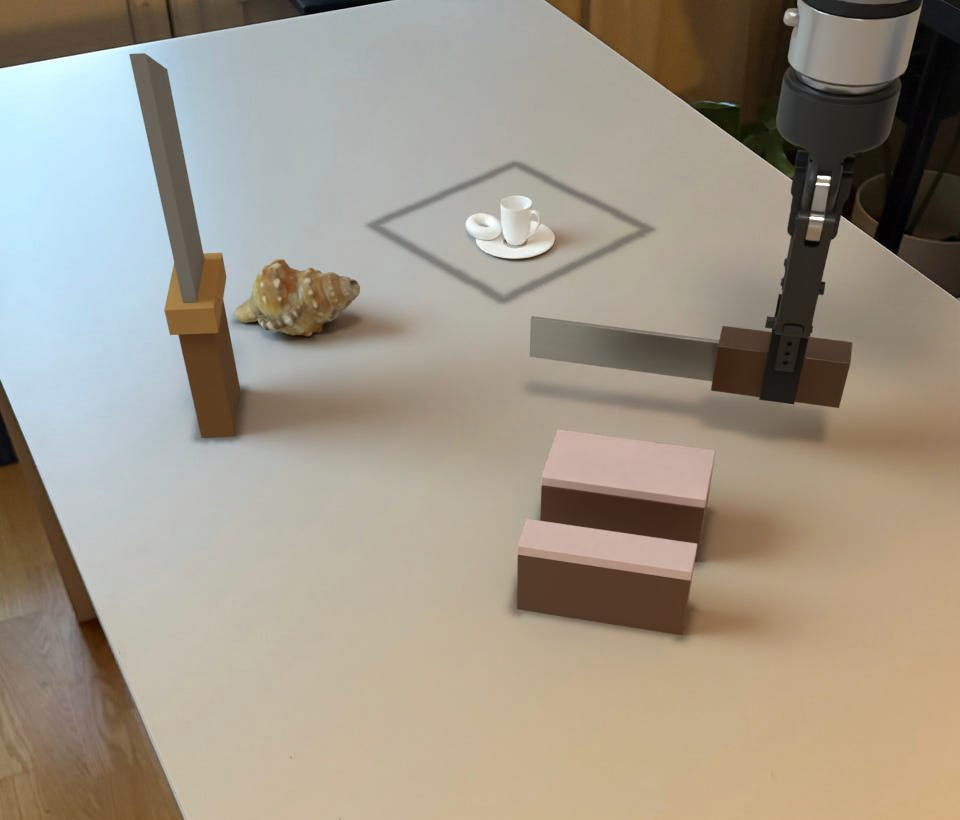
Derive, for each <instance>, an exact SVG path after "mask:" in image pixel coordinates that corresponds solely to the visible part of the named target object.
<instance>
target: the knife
mask: <svg viewBox="0 0 960 820" xmlns="http://www.w3.org/2000/svg"><path fill="white" fill-rule="evenodd" d="M128 56H129V59H130V63H131V69H132V73H133V78H134V82H135V87H136V93H137V97H138V103H139V106H140V112H141V115H142V120H143V125H144V128H145V134H146V139H147V142H148V148H149V153H150V157H151V161H152V167H153V171H154V175H155V179H156V180H155V181H156V185H157V190H158V193H159V198H160V203H161V209H162V212H163V217H164V222H165V226H166V230H167V236H168V239H169V244H170V250H171V254H172V258H173V266H172V270H171V276H170V281H169V286H168V290H167V295H166V300H165V305H164V315H165V319H166V324H167V326H168V328H167V329H168V333H169V335H170V336H178V340H179V344H180V348H181V353H182V358H183V361H184V366H185V371H186V376H187V379H188V384H189V388H190V389H189V390H190V392H191V398H192V402H193V406H194V411H195V415H196V420H197V424H198V429H199V433H200V438H201V439H210V438H212V439H213V438H232V437H234V438H235V437H236V431H237V422H238V413H239V405H240V397H241V385H240V381H239V374H238V370H237V365H236V359H235V354H234V353H235V352H234V348H233V344H232V339H231V333H230V327H229V322H228V318H227V312H226V307H225V301H224V297H225V291H226V283H227V271H226V266H225V262H224V255H223V252H207V253H205V252H204V250H203V249H204V248H203V245H202V240H201V239H202V238H201V234H200V230H199V229H200V228H199V225H198V224H199V223H198V218H197V214H196V209H195V204H194V199H193V194H192V190H191V183H190V178H189V174H188V173H189V172H188V168H187V164H186V157H185V153H184V147H183V143H182V138H181V132H180V126H179V123H178V122H179V121H178V117H177V113H176V107H175V106H176V105H175V102H174V97H173V91H172V87H171V81H170V76H169V72H168V68H166V67H165V66H164V65H163V64H161V63H160V62H158V61H157V60H155V59H154V58H152V57H151V56H149V55H148V54H147V53H145V52H141V53H139V52H138V53H129V54H128Z"/></svg>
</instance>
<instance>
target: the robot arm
mask: <svg viewBox="0 0 960 820" xmlns="http://www.w3.org/2000/svg"><path fill="white" fill-rule="evenodd" d="M923 2H924V0H797V2H796V3H797V7H794V8H793V7H791V8H787V10H786V11H785V12H784V15H783V23H784V25H786V26H789V27H793V29H792V32H791V36H790V41H789V48H788V54H787V60H788V63H789V64H790V65H789V67H788V68H787V69H786V70H785V71H784V73H783V77H782V83H781V89H780V93H779V94H780V95H779V100H778V106H777V112H776V117H775V118H776V119H775V126H776V129H777V131H778V133H779V134H780V135H781V137H782V138H783V139H784V140H786V142H788V143H790V144H791V145H793V146H795V147H800V148H802V149H804V150H802V149H797V152H796V157H795V163H794V167H793V173H792V181H791V186H790V194H791V196H792V198H791V202H790V212H789V217H788V222H787V229H786V231H787V234H788V235H789V236H790V240H789V245H788V251H787V255H786V257H785V258H784V261H783V267H784V274H783V277H782V278H781V279H780V287H781V293H778V296H777V302H776V306H775V311H774V316H770V315H767V316H766V320H765V325H764V329H771V332H772V335H771V341H770V346H769V351H768V356H767V361H766V366H765V372H764V377H763V382H762V387H761V392H760V397H758V400H759V401H765V402H773V403H780V404H789V405H795V403H796V402H795V398H796V393H797V389H798V384H799V380H800V375H801V371H802V366H803V362H804V357H805V352H806V348H807V343H808V339H809V337H811V335H812V334H813V329H814V326H813V324H814V317H815V313H816V312H815V311H816V308H817V302H818V300H819V296H824V294H825V289H826V281H823V277H824V273H825V268H826V264H827V259H828V255H829V251H830V246H831V242H832V240H835V238H837V235H838V231H839V227H840V222H841V217H842V212H843V208H844V204H845V202H846V201H847V200H848V199H849V197H850V194H851V189H852V186H853V185H852V184H853V180H854V174H855V172H854V171H853V170H854V166H855V162H856V161H855V160H856V155H855V154H858V153H866V152H870V151H872V150H874V149H876V148H878V147H880V146H881V145H883V144H884V143H885V141H886V140H887V139H888V138H889V136H890V135H891V131H892V127H893V124H894V123H893V122H894V119H895V114H896V110H897V106H898V102H899V98H900V94H901V89H902V81H901V79H900V76H901V75H904V74H905V73H906V70H907V68H908V65H909V61H910V57H911V52H912V49H913V44H914V40H915V37H916V36H915V35H916V31H917V28H918V24H919V21H920V20H919V19H920V15H921V11H922V7H923Z"/></svg>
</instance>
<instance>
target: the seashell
mask: <svg viewBox="0 0 960 820" xmlns="http://www.w3.org/2000/svg"><path fill="white" fill-rule="evenodd" d="M360 294H361V285H360V284H359V282H358V281H357V280H356V279H354V278H351V277H350V276H345V275H341V276H340V275H339V274H337V273H336V272H332V271H329V272H324V273H323V272H322V271H321V270H319V269H314V267H308V268H306V269H304V270H298V269H295V268H292V267H290V265H289V264H288V263H287V262H286V260H285V259H284V258H276V259H275V260H273V261H272V262H271V263H270V264H268V265H264V266H263V267H262V268H261V270H260V272H259V273H258V274H257V275H256V276H255V278H254V281H253V284H252V286H251V294H250V297H249V298H248V299H247V300H245V301H244V302H243V303H242V304H241V305H239V306H238V307H236V308H235V311H234V315H235V319H236V320H237V321H239V322H241V323H245V324H246V323H252V322H253V323H254V322H258V324H259V326H260V327H261V328H262V329H263V330H265V331H267V332H270V331H271V332H273V333H274V332H280V333H284V334H286V335H290V336H305V337H310V336H312V335H313V334H318V333H321V332H322V331H323V326H324V324H326V323H331V322H332V321H333V320H335V319H337V318H338V317H339V316H340V315H341V313H342V311H344V310H346V309H347V308H348V307H350V306H351V304H352V303H353V301H355V300H356V299H357V298H358V297H359V295H360Z"/></svg>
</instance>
